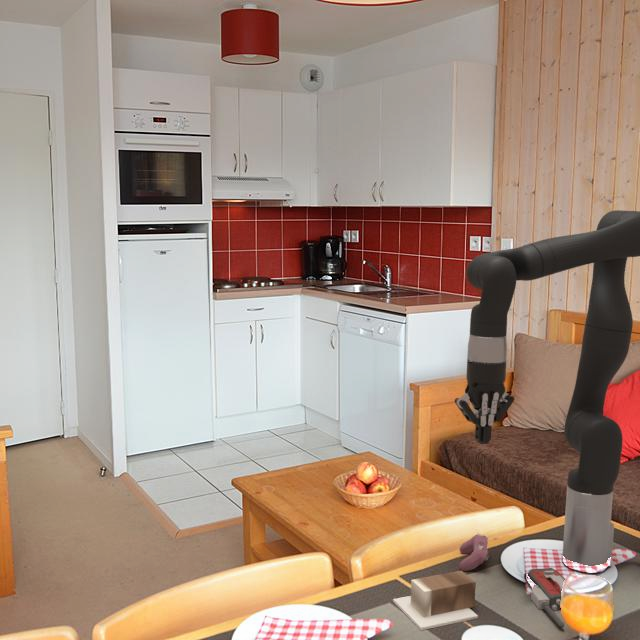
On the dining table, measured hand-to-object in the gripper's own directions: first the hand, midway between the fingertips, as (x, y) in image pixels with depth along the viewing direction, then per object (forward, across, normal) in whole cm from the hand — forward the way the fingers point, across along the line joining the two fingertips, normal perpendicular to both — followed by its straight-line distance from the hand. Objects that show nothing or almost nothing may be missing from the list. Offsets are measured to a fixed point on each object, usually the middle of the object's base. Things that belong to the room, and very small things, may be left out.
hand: (482, 442), depth 157 cm
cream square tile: (+29, +14, +8) cm, 33 cm away
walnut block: (+26, +7, +8) cm, 28 cm away
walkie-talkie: (+30, -9, +13) cm, 34 cm away
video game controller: (+29, -4, -7) cm, 30 cm away
